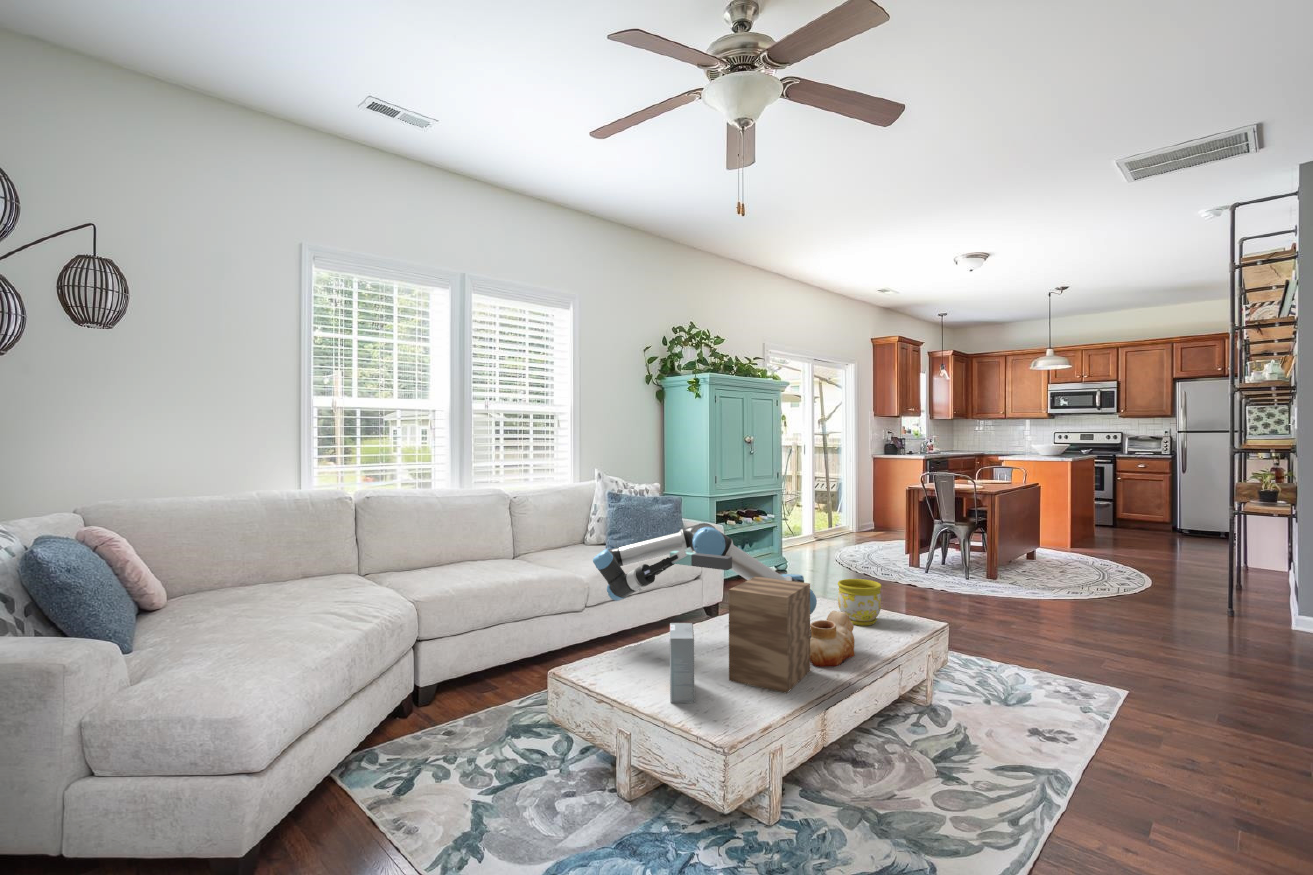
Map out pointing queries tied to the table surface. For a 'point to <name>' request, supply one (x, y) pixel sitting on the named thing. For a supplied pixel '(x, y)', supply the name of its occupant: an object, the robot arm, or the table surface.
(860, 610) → the flowerpot
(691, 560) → the bar
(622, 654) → the table surface
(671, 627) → the hard drive box
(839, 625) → the ceramic vessel
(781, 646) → the upright wooden block
